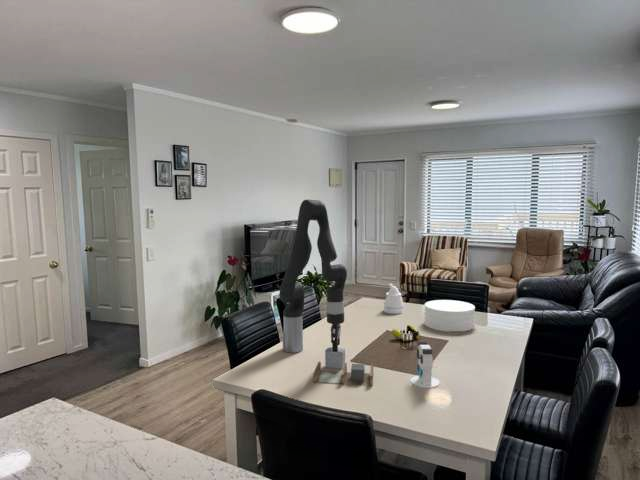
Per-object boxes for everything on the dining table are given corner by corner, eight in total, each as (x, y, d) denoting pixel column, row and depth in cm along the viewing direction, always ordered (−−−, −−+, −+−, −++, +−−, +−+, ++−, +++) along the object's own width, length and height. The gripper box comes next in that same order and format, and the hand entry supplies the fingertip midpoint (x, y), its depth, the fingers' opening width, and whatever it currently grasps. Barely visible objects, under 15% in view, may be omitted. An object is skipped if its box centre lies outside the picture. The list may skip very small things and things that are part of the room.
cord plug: (351, 381, 171) (351, 369, 170) (352, 372, 180) (352, 360, 179) (363, 382, 170) (363, 370, 169) (364, 372, 179) (364, 361, 179)
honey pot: (383, 313, 277) (383, 285, 275) (384, 308, 289) (384, 282, 288) (404, 314, 275) (404, 286, 273) (403, 309, 287) (403, 282, 286)
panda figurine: (407, 375, 178) (408, 340, 177) (435, 375, 178) (436, 340, 177) (413, 388, 166) (413, 350, 165) (442, 388, 166) (443, 350, 165)
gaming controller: (390, 339, 226) (404, 344, 218) (390, 328, 225) (404, 333, 217) (409, 333, 235) (423, 338, 227) (409, 323, 234) (424, 327, 226)
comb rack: (313, 385, 170) (313, 373, 169) (318, 373, 182) (318, 361, 181) (372, 388, 166) (372, 376, 166) (373, 376, 178) (373, 364, 178)
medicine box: (345, 367, 187) (345, 348, 187) (342, 371, 183) (342, 351, 182) (328, 365, 190) (328, 346, 189) (325, 369, 186) (324, 350, 185)
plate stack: (479, 322, 255) (480, 303, 254) (467, 334, 232) (468, 314, 231) (433, 316, 270) (433, 298, 269) (417, 327, 247) (417, 307, 246)
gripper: (328, 307, 192) (329, 342, 193) (324, 315, 178) (325, 353, 179) (345, 307, 191) (346, 343, 192) (342, 315, 177) (343, 354, 178)
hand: (336, 348), depth 186 cm, fingers open, 8 cm apart
